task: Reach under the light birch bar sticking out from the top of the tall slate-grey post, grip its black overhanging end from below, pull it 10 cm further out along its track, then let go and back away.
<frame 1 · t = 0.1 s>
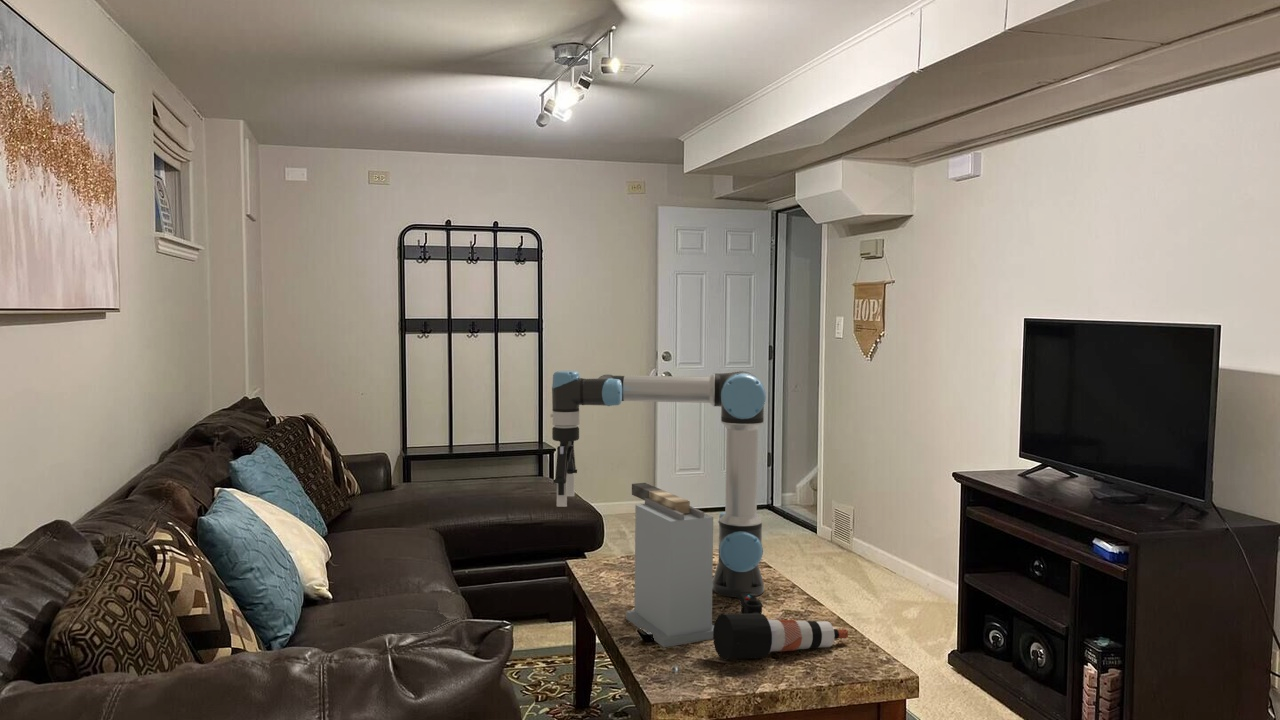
hand: (565, 501, 245), 28 cm above the table, tool pointing down, fingers open, 13 cm apart
black white tapered cylinder: (785, 653, 209), on the table
post: (671, 627, 224), on the table
controller: (749, 628, 224), on the table
bar: (659, 497, 230), point 32 cm above the table, slide at 0.0 cm
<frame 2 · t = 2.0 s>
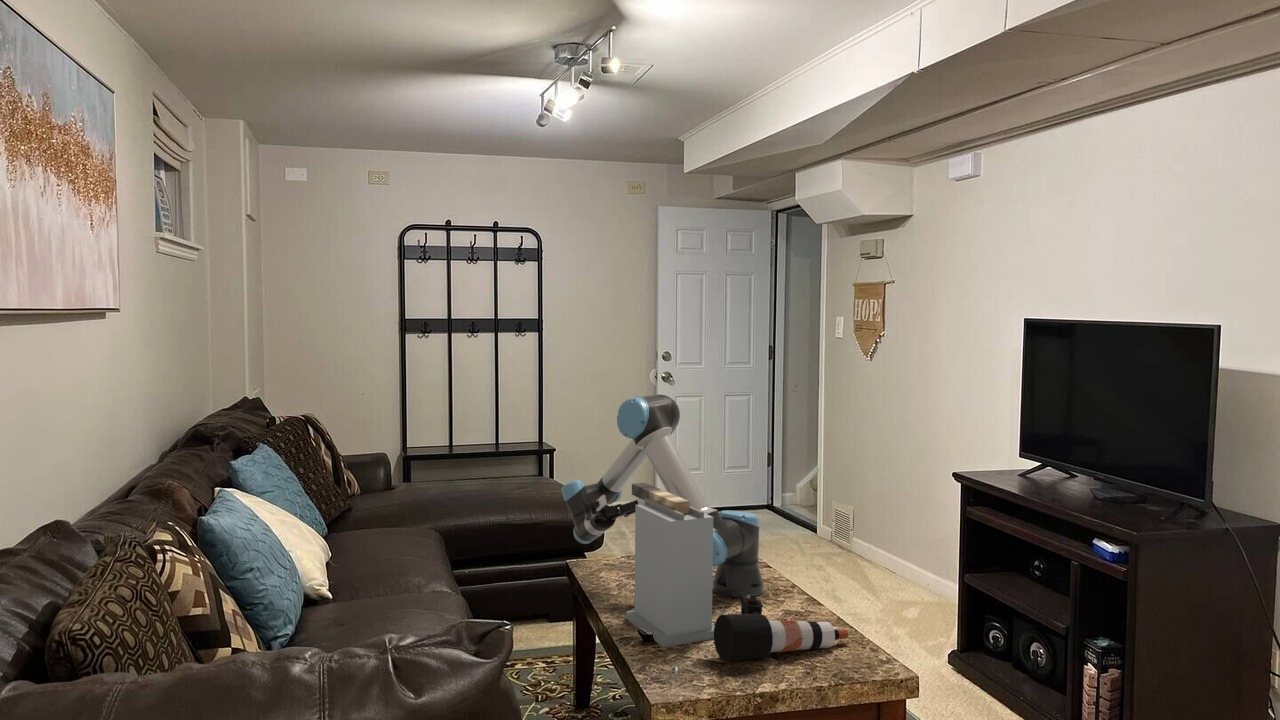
hand: (626, 497, 248), 28 cm above the table, tool pointing upward, fingers open, 13 cm apart
nothing on the table moved.
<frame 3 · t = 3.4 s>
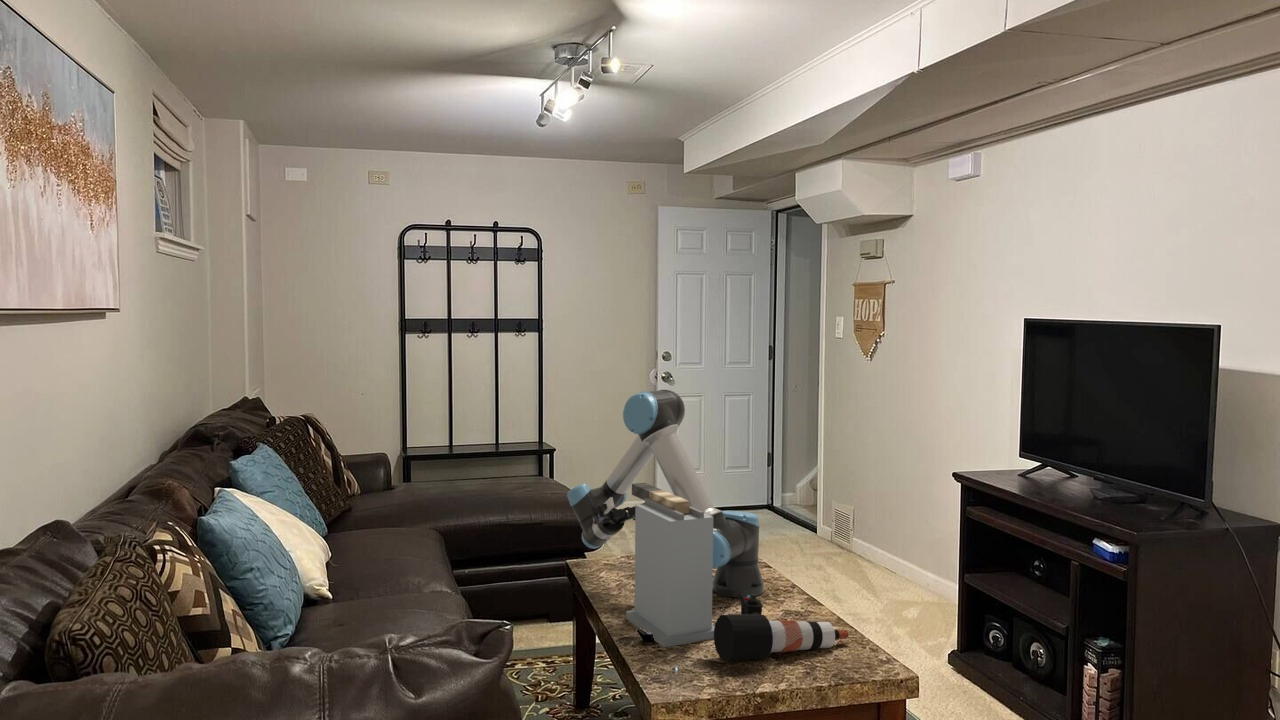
hand: (634, 499, 242), 29 cm above the table, tool pointing upward, fingers open, 13 cm apart
nothing on the table moved.
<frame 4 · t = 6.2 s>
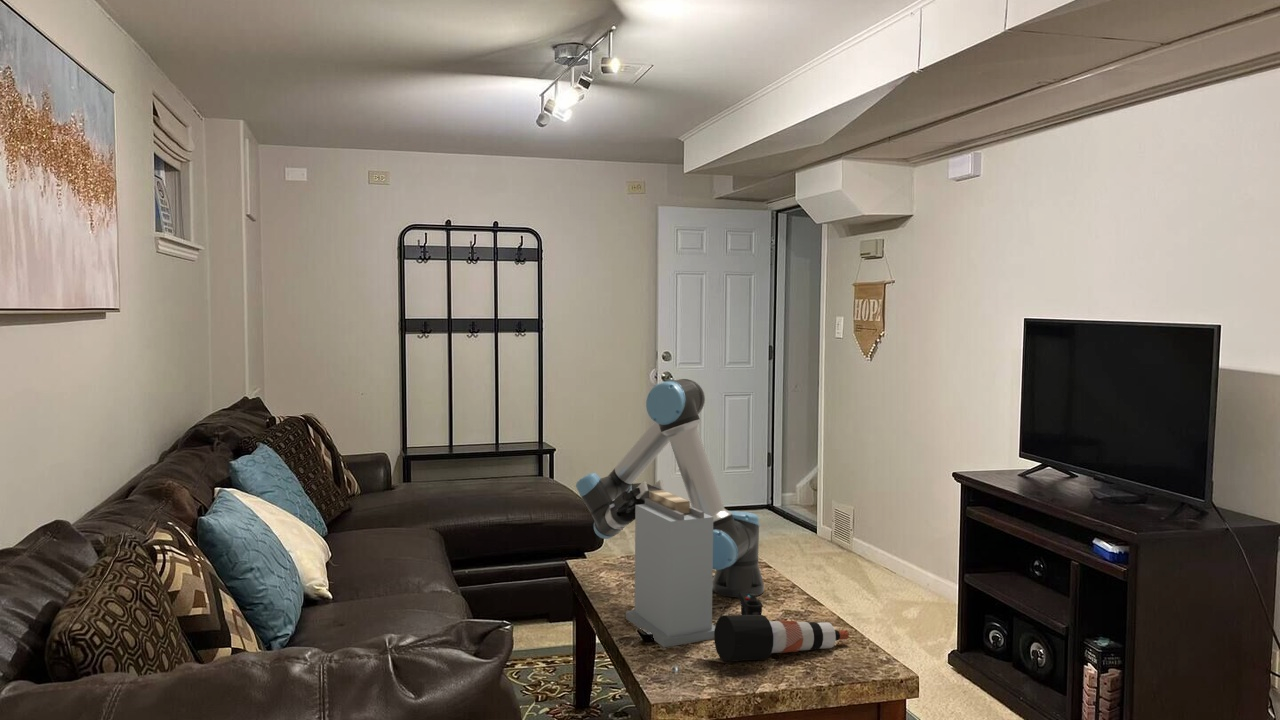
hand: (653, 485, 232), 35 cm above the table, tool pointing upward, fingers closed on bar, 4 cm apart
bar: (659, 497, 230), point 32 cm above the table, slide at 0.0 cm, touching gripper
everything else where it was.
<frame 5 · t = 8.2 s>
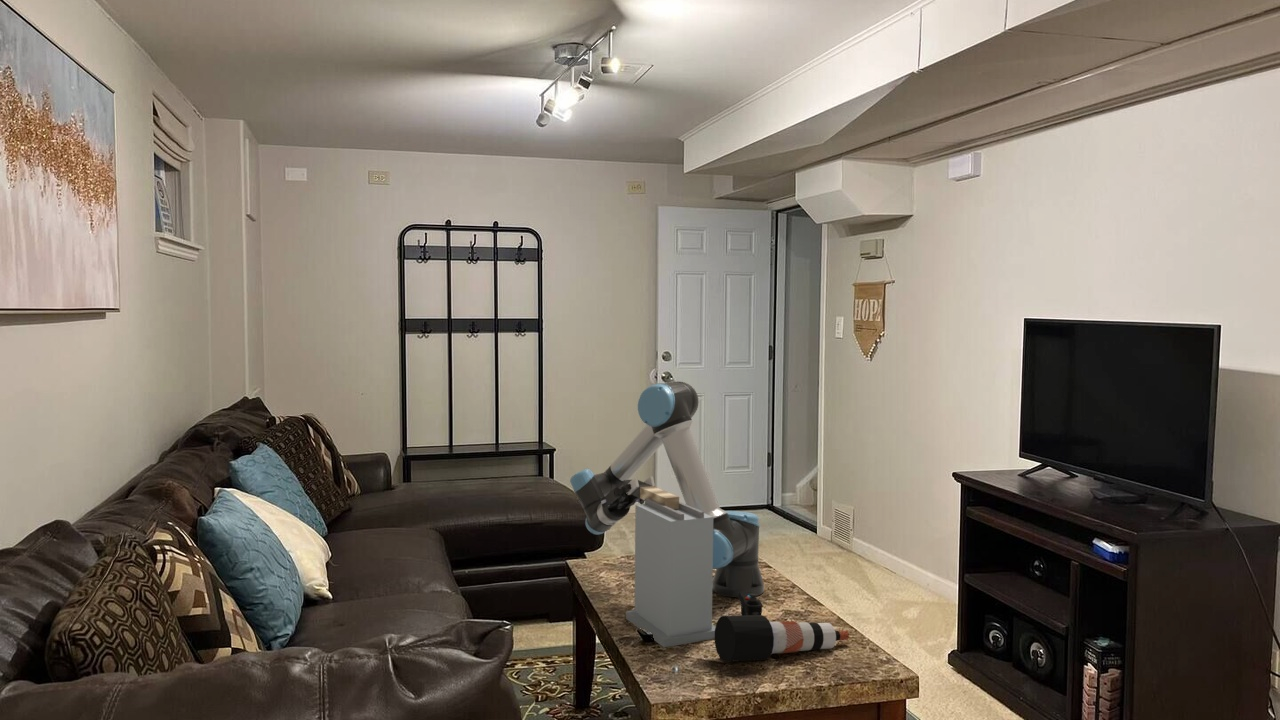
hand: (644, 481, 237), 35 cm above the table, tool pointing upward, fingers closed on bar, 4 cm apart
bar: (649, 493, 235), point 32 cm above the table, slide at 5.6 cm, touching gripper
everything else where it was.
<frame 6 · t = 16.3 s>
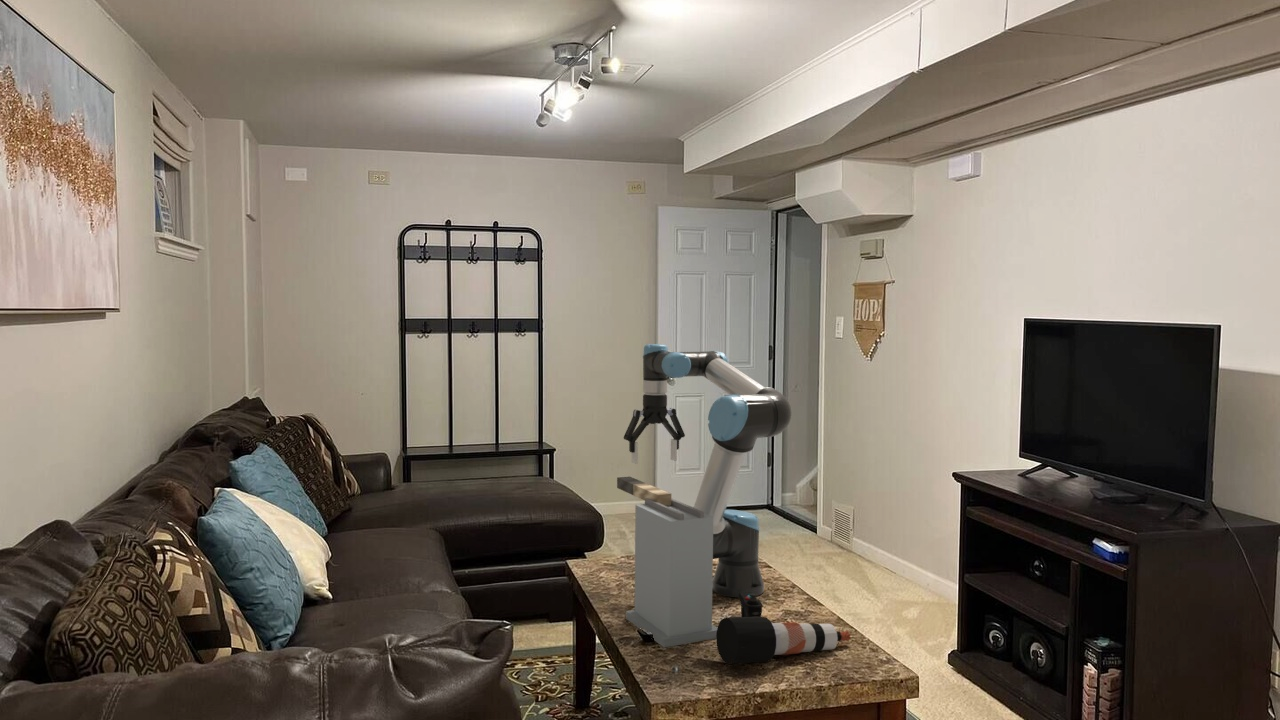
hand: (654, 461, 272), 35 cm above the table, tool pointing down, fingers open, 13 cm apart
bar: (643, 490, 239), point 32 cm above the table, slide at 10.0 cm
at the end: bar slide at 10.0 cm; the gripper is holding nothing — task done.
